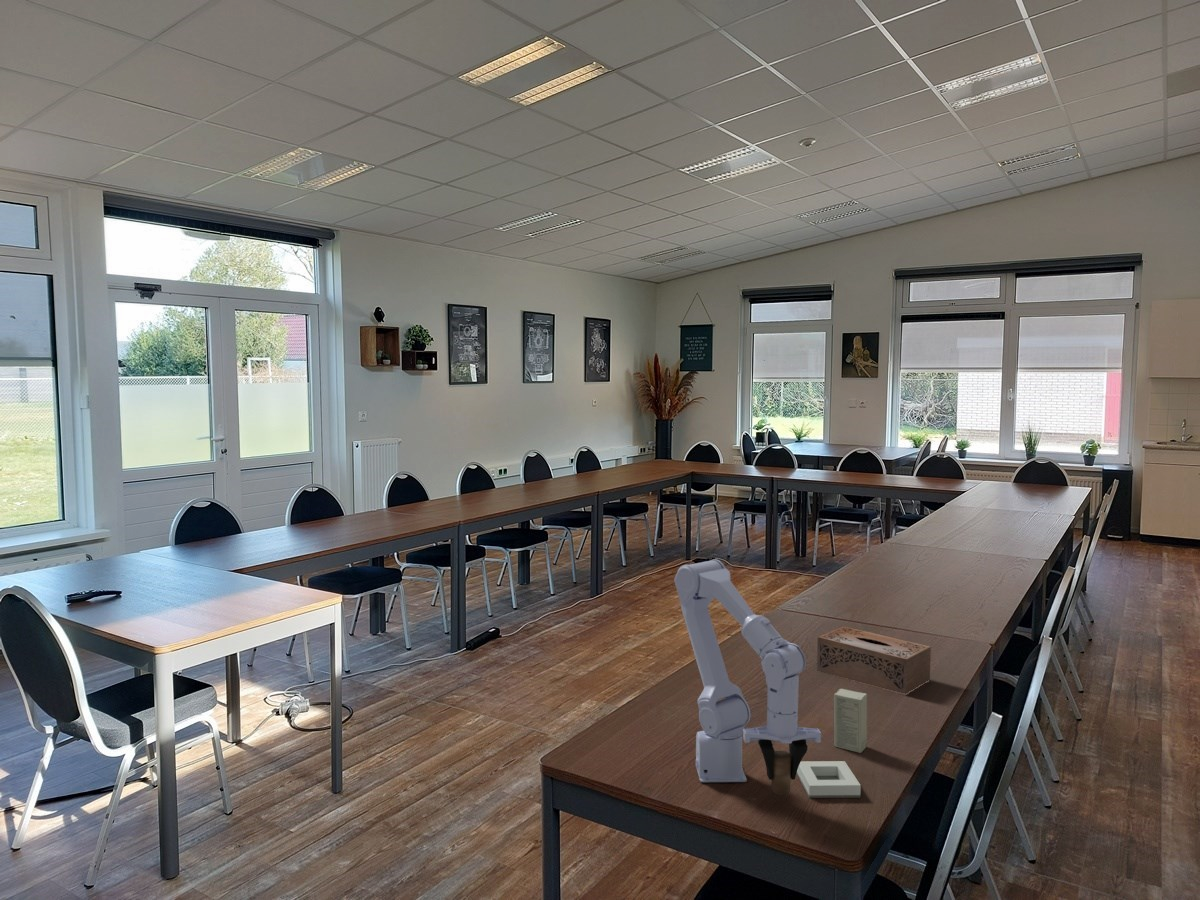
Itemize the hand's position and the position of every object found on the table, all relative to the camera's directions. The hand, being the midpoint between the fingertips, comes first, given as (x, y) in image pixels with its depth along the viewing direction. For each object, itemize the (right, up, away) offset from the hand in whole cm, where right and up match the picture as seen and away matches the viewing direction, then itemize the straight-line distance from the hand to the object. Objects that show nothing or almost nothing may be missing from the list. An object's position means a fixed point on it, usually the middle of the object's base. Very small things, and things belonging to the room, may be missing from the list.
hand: (780, 777), depth 154 cm
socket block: (+11, -5, +7) cm, 14 cm away
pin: (0, -3, 0) cm, 2 cm away
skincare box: (+21, -3, +24) cm, 32 cm away
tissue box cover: (+41, 0, +67) cm, 79 cm away
